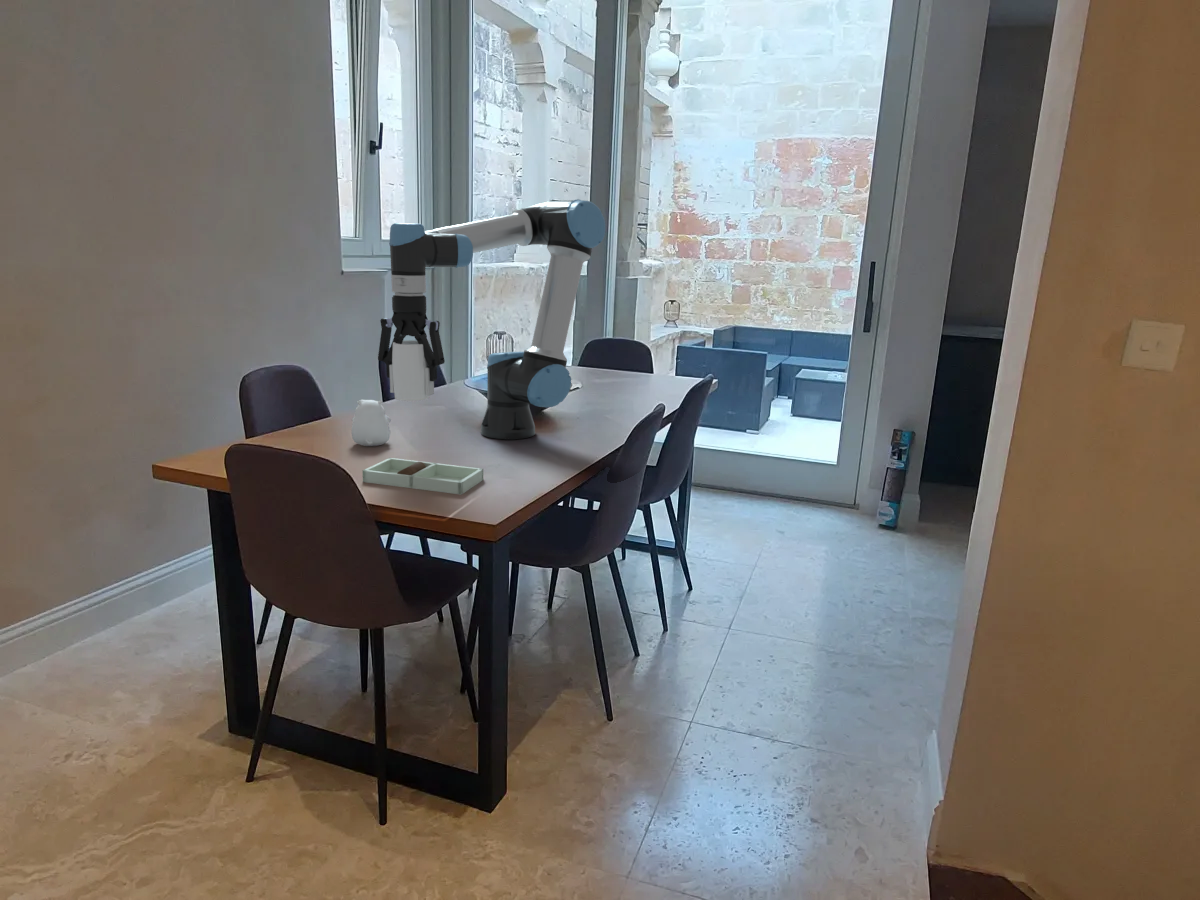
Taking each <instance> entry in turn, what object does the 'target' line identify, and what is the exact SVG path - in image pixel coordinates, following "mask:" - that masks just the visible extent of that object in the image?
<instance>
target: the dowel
mask: <svg viewBox="0 0 1200 900" xmlns="http://www.w3.org/2000/svg"><path fill="white" fill-rule="evenodd" d="M423 462H424V461H422V462H416V463H415V464H413V465H411V466H409V467H407V468H405V469H403V470H401V471H399V472H398V473H397V474H404V475H413V474H415V473H417V472H418V471H420V470H422V469H424V468H426V466H425V464H424V463H423Z"/></svg>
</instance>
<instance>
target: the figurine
mask: <svg viewBox="0 0 1200 900" xmlns="http://www.w3.org/2000/svg"><path fill="white" fill-rule="evenodd" d="M356 403H357V404H358V405H357V406H356V408H355V411H354V416H353V417H352V419H351V421H352V424H351V438H352V441H353V442H354V443H356V444H357V445H361V446H365V447H376V446H378V447H379V446H381V445H384V444H386V443H388V441H389V440H390V437H391V430H390V425H389V423H391V421H392V419H391V417H389V416H388V415H386V410H385V408H384V406H383V405H382V404H383V400H381V399H380V400H379V401H378V400H374V399H360V400H357V402H356Z"/></svg>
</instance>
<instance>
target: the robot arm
mask: <svg viewBox="0 0 1200 900" xmlns="http://www.w3.org/2000/svg"><path fill="white" fill-rule="evenodd" d="M606 227H607V226H606V220H605V217H604V215H603V213H602V210H601V208H599V206H598V205H597V204H595V203H594V202H593V201H590V200H585V199H584V200H582V199H579V198H577V199H571V200H570V199H569V200H568V199H567V200H564V199H563V200H548V201H543V202H540V203H536V204H534V205H530V206H526V207H521V208H517V209H514V210H513V211H512V212H511V214H507V215H501V216H497V217H491V218H486V219H481V220H476V221H470V222H466V223H465V222H464V223H461V224H455V225H450V226H449V225H448V226H444V227H439V228H434V229H430V230H426V229H425V225H423V224H422V223H408V222H407V223H403V222H398V223H397V222H395V223H392V224H391V225H390V227H389V242H388V243H389V249H390V255H389V256H390V271H391V272H390V278H391V292H392V293H393V295H392V296H391V303H392V304H391V305H392V312H393V314H392V317H384V318H380V320H379V321H380V326H381V331H380V338H379V345H378V354H377V359H378V361H379V362H382V363H384V364H385V366H386V367H385V369H386V377H387V378H389V388H390V389H389V392H390V393H392V394H394V384H393V368H392V350H393V342H395V343H397V344H402V342H403V341H404V339H405V338H406V336H407V337H408V336H409V337H414V338H415V339H414V340H416V341H418V344H423V351H424V357H425V360H426V362H427V364H428V366H427V367H426V368H425V386H426V396H432V395H435V382H436V381H437V380H438V367H439V366H440V365H443V364H445V356H444V352H443V351H444V350H443V346H442V340H441V335H440V326H441V325H440V324H441V323H440V321H439V320H431V319H428V316H427V297H426V295H424V294H425V293H426V292H427V283H426V279H427V278H426V268H431V267H432V268H455V269H458V268H465V267H468V266H469V265H470V264H471V263H472V260H473V257H474V254H476V253H479V252H486V251H490V250H493V249H499V248H504V247H508V246H513V245H517V244H518V245H519V246H521V247H527V246H530V245H531V246H534V245H539V246H540V245H542V246H543V245H544V246H546V249H547V251H548V252H549V254H550V259H549V264H548V268H547V273H546V277H545V282H544V286H543V290H542V291H543V292H542V295H541V301H540V304H539V309H538V315H537V318H536V323H535V326H534V327H535V328H534V331H533V332H534V333H533V337H532V340H531V341H532V342H531V345H530V346H529V347H527V348H526V349H524V350H523V351H506V352H505V351H504V352H493V353H490V354H489V355H488V357H487V366H486V369H487V371H486V372H487V382H486V383H487V395H486V396H487V403H486V404H487V405H486V410H485V412H484V415H483V419H482V422H481V425H480V434H481V435H482V436H484V437H486V438H490V439H497V440H522V439H527V438H532V437H533V436H534V435H536V426H535V425H536V424H535V422H534V419H533V415H532V411H531V409H530V404H531V405H533V406H534V407H540V408H553V407H556V406H558V405H559V404H561V403H562V402H563V401H564V400H565V399H566V398H567V397H568V395H569V393H570V390H571V386H572V377H571V376H570V371H569V370H568V369H567V368H566V367H567V363H568V359H567V357H566V355H565V354H564V350H565V345H566V342H567V336H568V332H569V327H570V324H571V319H572V314H573V311H574V310H573V309H574V306H575V301H576V297H577V291H578V288H579V282H580V278H581V274H582V270H583V265H584V264H585V262H586V261H588V260H590V259H591V257H592V256H591V255H592V252H593V249H594V248H596V247H598V246H599V245H600V244H601V243H602V242H603V240H604V238H605V236H606ZM393 326H394V327H395V328H396V329H395V332H394V334H393V339H392V342H391V336H392V330H393V329H392V327H393ZM426 327H427V330H428V332H429V334H428V335H429V338H430V342H429V340H428V338H427V337H428V336H427V333H426V331H425V328H426Z"/></svg>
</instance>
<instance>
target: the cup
mask: <svg viewBox="0 0 1200 900" xmlns="http://www.w3.org/2000/svg"><path fill="white" fill-rule="evenodd" d="M392 342H393V341H392ZM427 366H428V364H427V362H426V360H425V357H424V351H423V344H418V341H417V340H416V339H414V340H413V339H412V340H407V339H406V340H403V342H402V344H397V343H395V342H393V350H392V368H393V384H394V393H393V395H394V399H395V400H396V401H400V402H421V401H422V402H423V401H427V400H429V399H430V396H431V395H430V396H426V386H425V368H426V367H427Z"/></svg>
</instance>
